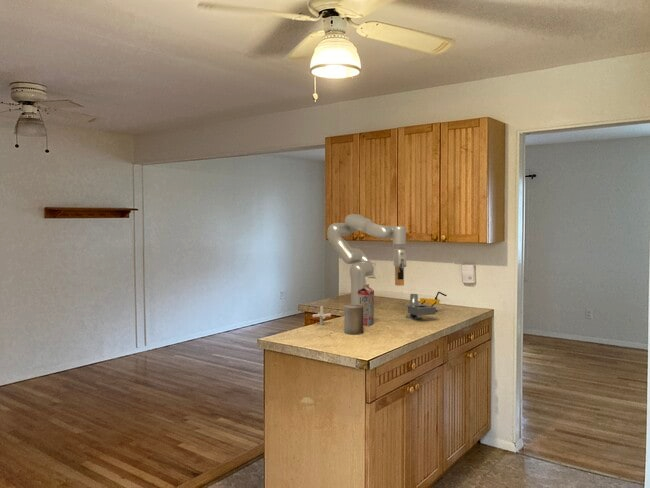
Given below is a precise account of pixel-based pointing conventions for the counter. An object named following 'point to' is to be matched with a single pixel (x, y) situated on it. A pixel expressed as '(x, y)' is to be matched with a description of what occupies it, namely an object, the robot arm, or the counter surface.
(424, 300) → the robot dog
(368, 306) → the juice carton
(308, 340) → the counter surface
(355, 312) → the pillar candle
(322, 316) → the pipe connector
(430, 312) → the block with square hole
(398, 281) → the wooden block
